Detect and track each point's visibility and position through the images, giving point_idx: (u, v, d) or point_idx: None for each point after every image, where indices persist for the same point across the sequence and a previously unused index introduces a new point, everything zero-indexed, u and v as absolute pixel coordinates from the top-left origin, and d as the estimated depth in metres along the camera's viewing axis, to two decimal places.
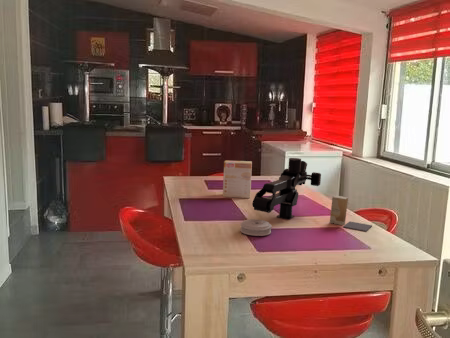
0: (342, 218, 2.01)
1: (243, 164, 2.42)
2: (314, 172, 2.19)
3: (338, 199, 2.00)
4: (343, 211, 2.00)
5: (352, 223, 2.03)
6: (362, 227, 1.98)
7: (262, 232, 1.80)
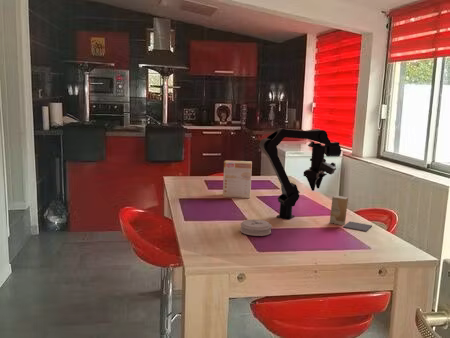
0: (342, 218, 2.01)
1: (243, 164, 2.42)
2: (318, 175, 2.04)
3: (338, 199, 2.00)
4: (343, 211, 2.00)
5: (352, 223, 2.03)
6: (362, 227, 1.98)
7: (262, 232, 1.80)
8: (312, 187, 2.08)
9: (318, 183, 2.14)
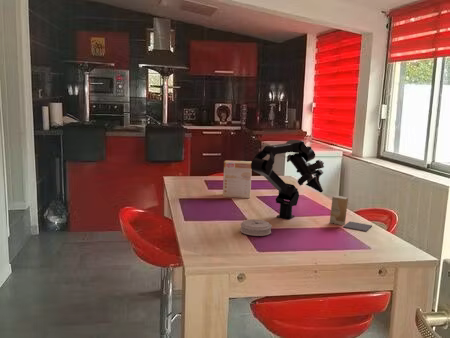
0: (342, 218, 2.01)
1: (243, 164, 2.42)
2: (311, 176, 2.01)
3: (338, 199, 2.00)
4: (343, 211, 2.00)
5: (352, 223, 2.03)
6: (362, 227, 1.98)
7: (262, 232, 1.80)
8: (319, 189, 2.06)
9: None
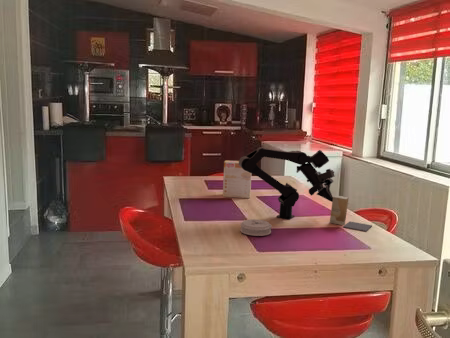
0: (342, 218, 2.01)
1: None
2: (322, 185, 1.99)
3: (338, 199, 2.00)
4: (343, 211, 2.00)
5: (352, 223, 2.03)
6: (362, 227, 1.98)
7: (262, 232, 1.80)
8: (330, 198, 2.04)
9: None
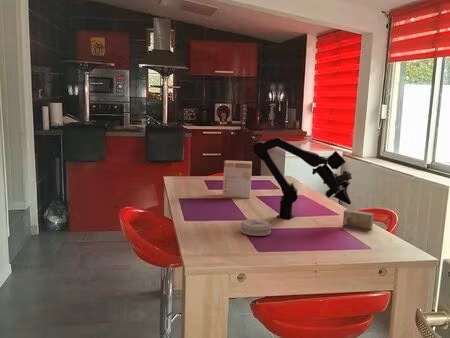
0: (349, 224, 1.99)
1: (243, 164, 2.42)
2: (340, 188, 1.95)
3: (369, 221, 1.95)
4: (357, 225, 1.98)
5: None
6: None
7: (262, 232, 1.80)
8: (347, 201, 2.00)
9: None
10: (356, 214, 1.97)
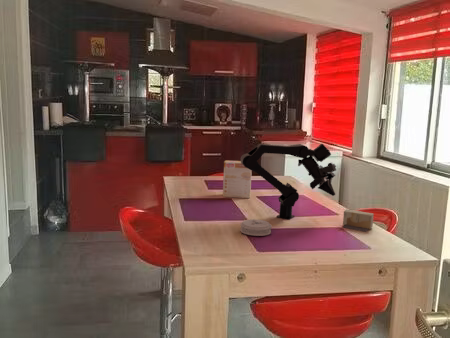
0: (349, 224, 1.99)
1: None
2: (324, 179, 1.99)
3: (369, 221, 1.95)
4: (357, 225, 1.98)
5: None
6: None
7: (262, 232, 1.80)
8: (331, 192, 2.03)
9: None
10: (356, 214, 1.97)
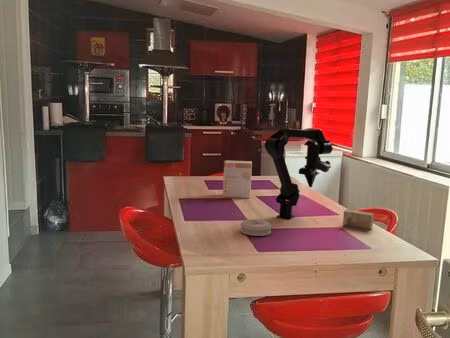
0: (349, 224, 1.99)
1: (243, 164, 2.42)
2: (313, 173, 2.09)
3: (369, 221, 1.95)
4: (357, 225, 1.98)
5: None
6: None
7: (262, 232, 1.80)
8: (309, 184, 2.16)
9: None
10: (356, 214, 1.97)
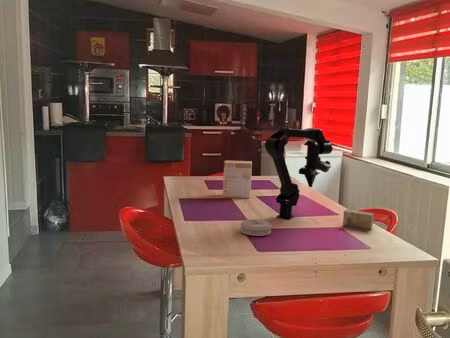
0: (349, 224, 1.99)
1: (243, 164, 2.42)
2: (313, 173, 2.09)
3: (369, 221, 1.95)
4: (357, 225, 1.98)
5: None
6: None
7: (262, 232, 1.80)
8: (309, 184, 2.16)
9: None
10: (356, 214, 1.97)
